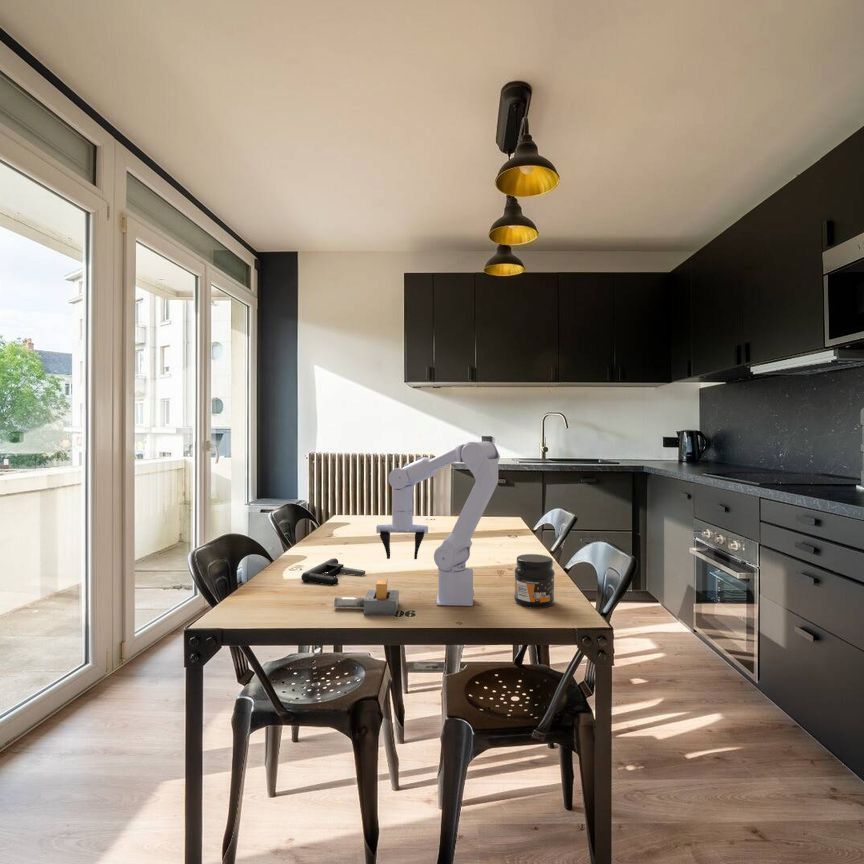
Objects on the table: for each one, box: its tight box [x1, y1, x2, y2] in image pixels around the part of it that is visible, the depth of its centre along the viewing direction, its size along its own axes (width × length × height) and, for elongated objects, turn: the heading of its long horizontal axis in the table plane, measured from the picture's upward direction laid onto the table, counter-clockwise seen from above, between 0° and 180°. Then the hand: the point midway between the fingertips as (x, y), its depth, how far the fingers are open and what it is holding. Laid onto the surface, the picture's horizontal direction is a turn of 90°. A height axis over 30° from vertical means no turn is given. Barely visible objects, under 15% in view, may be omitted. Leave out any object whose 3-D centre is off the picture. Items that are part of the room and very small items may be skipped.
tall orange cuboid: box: [375, 579, 388, 599], centre depth 142 cm, size 2×4×7 cm, turn 179°
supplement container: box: [514, 553, 556, 609], centre depth 148 cm, size 10×10×12 cm
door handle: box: [301, 557, 366, 586], centre depth 172 cm, size 3×20×16 cm
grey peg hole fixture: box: [333, 589, 400, 616], centre depth 142 cm, size 16×9×4 cm, turn 89°
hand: (402, 558), depth 157 cm, fingers open, 7 cm apart
